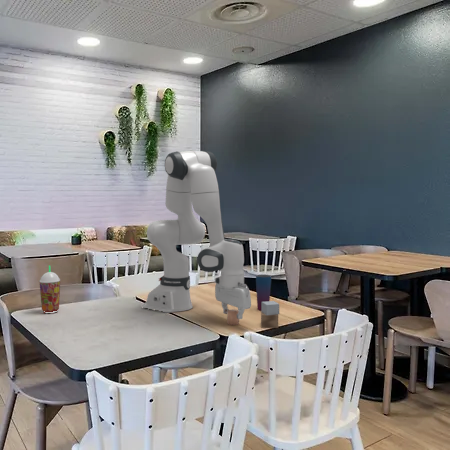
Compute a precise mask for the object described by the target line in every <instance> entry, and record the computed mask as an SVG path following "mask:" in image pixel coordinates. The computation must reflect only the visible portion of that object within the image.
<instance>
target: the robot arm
mask: <svg viewBox="0 0 450 450" xmlns="http://www.w3.org/2000/svg"><path fill="white" fill-rule="evenodd" d="M217 168H218V160H217V157H216V155H215V154H214V153H213V152H212V151H208V150H193V149H192V150H186V151H185V150H183V151H173V152H169V153H168V154H167V155H166V157H165V159H164V170H165V172H166V174H167V181H166V189H165V190H166V191H165V206H166V208H167V210H168V211H170V212H171V213H173V214H175V215H177V219H160V220H157V221H152V222H150V224H149V225H148V226H147V230H146V237H147V240H148V241H149V243H150V244H152V245H153V246H155V247H156V248H157V250H159V253H160V254H161V257H162V263H163V276H161V277H159V278H158V282H160V284H158V285H157V286H156V287H155V288H153V289H152V290H150V292H149V293H148V295H147V297H146V302H143V303H142V304H141V308H142V307H143V308H148V309H147V310H149V309H155V310H159V311H158V312H161V311H163V312H162V313H169V314H170V313H174V312H183V311H189V310H191V309H192V308H193V307H194V306H193V303H192V299H191V293H190V291H191V289H190V288H191V277H190V276H191V275H190V259H189V258H188V256H187V255H186V254H184V253H182V252H181V251H179V250H177V246H179V245H183V246H184V245H185V246H186V245H193V244H194V245H195V244H198V243H201V242H202V241H203V240H204V238H205V236H206V228H207V232H208V233H207V234H208V239H209V247H206V248H204V249H202V250H201V251H200V252H198V254H197V258H196V259H197V260H196V262H197V265H198V268H200V269H201V270H202V272H206V273H214V272H218V271H220V272H221V273H220V276H217V277H215V278H214V284H215V285H214V286H215V287H214V292H215V293H214V294H215V295H214V296H215V299H216V300H215V301H217V302H220V303H221V308H222V309H223V312H222V313H223V314H225V315H228V310H230V309H229V307H228V305H230V306H232V307H234V308H237V310H239V312H238V314H237V319H239V320H242V319H243V316H244V315H243V314H244V313H245V310H250V309H251V306H252V297H251V296H252V295H251V292H250V289H249V286H248V285H247V284H246V283H245V270H244V264H245V253H244V252H245V250H244V246H243V243H242V242H241V241H239V240H237V239H232V238H226V237H225V231H224V225H223V224H224V223H223V218H222V212H221V202H220V201H221V200H220V190H219V183H218V179H217V175H216V170H217ZM193 211H194V212H195V213H196V215H197V216H199V217H200V218H202V220H203V221H204V222H205V224H206V226H207V227H206V228H205V225H204V224H203V223H202V221H201V220H199V219H198V218H197V217H196V215H195V213H194V212H193ZM143 308H142V309H143ZM155 310H154V311H155Z"/></svg>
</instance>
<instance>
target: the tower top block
mask: <svg viewBox="0 0 450 450" xmlns="http://www.w3.org/2000/svg"><path fill="white" fill-rule="evenodd" d="M261 312H262V313H264V314H265V315H277V314H278V315H280V303H278V302H277V301H275V300H270V301H267V302H262V308H261V311H260V313H261Z"/></svg>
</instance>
